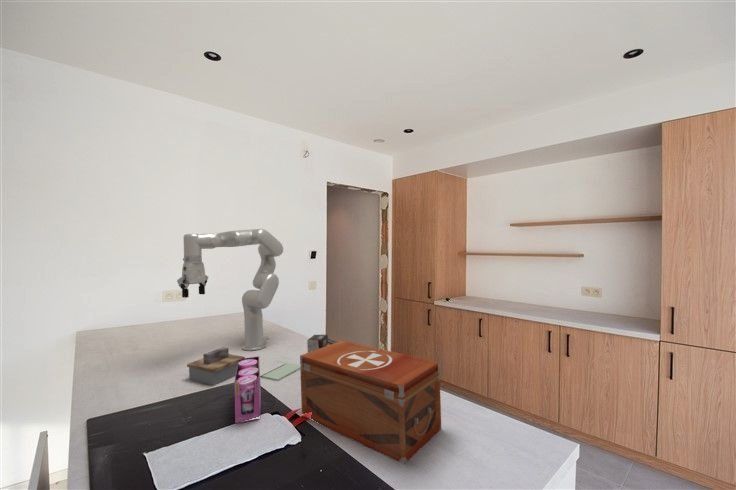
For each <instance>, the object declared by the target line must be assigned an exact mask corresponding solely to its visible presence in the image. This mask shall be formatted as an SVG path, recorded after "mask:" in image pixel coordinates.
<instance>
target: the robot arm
mask: <svg viewBox="0 0 736 490" xmlns="http://www.w3.org/2000/svg"><path fill="white" fill-rule="evenodd" d="M255 245H258V248H257V250H258V254H259V257H260V265H259V267H258V269H257V272H256V273H255V275H254V276H253V280H252V285H253V287H254V288H256V289H249V290H246V291H245V292H244V293H243V294H242V297H241V305H242V308H243V317H244V318H243V319H244V321H243V322H244V344H243V345H242V347H241V348H242V350H244V351H249V352H251V351H258V350H261V349H264V348H266V347H267V343H266V341H268V340H270V336H264V327H263V326H264V325H263V322H264V321H263V309H264V310H265V309H266V308H268V307H269V306H270V305H271V303H272V301H273V299H274V296H275V295H276V293H277V290H278V287H279V283H280V280H279V277H278V276H277V274H276V273H275V270H276V267H277V265H276V259H275V257H277V258H278V257H280V256H281V255H282V254H283V253H284V246H283V243H281V242H280V240H278V239H277V238H276V237H275V236H274V235H272V233H270V232H269V231H268V230H267V229H264V228H257V229H254V228H253V229H244V230H243V229H241V230H230V231H229V230H228V231H223V232H215V233H201V234H199V233H187V234H184V235H183V258H182V261H183V263H182V269H181V277H180V278H178V279H177V280H176V282H177V284H178V287H180V290H181V294H182V295H181V297H182V298H187V299H188V298H189V297H190V296H189V294H190V293H189V288H188V287H189V286H190V285H196V284H198V295H205V294H206V286H207V282H208V280H209V276H208V275H206V268H205V265H204V262H203V257H202V255H203V253H202V250H209V249H210V250H211V249H215V248H233V247H234V248H237V247H245V246H255Z"/></svg>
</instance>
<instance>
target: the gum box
mask: <svg viewBox="0 0 736 490" xmlns="http://www.w3.org/2000/svg"><path fill="white" fill-rule="evenodd" d="M260 365H261V364H260V356H253V357H252V356H251V357H245V358H243V359H239V360H238V366H237V371H236V376H235V377H234V384H233V386H234V419H235V420H234V424H240V423H239V422H241V423H243V422H242V421H245V420H249V419H252V418H256V417H259V416H260V417H261V405H262V404H261V402H262V401H261V399H262V398H261V396H262V395H261V394H262V393H261V377H260V376H261V368H260V367H261V366H260Z"/></svg>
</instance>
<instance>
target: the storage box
mask: <svg viewBox="0 0 736 490" xmlns="http://www.w3.org/2000/svg"><path fill="white" fill-rule="evenodd" d="M237 366H238V363H235V364H233V365H230V366H228V367H226V368H223V369H221V370H218V371H216V372H213V373H212V372H207V371H203V370H199V369H194V368H190V367H188V369H189V370H188V374H189V376H188V377H189V381H192V382H197V383H199V384H204V385H208V386H212V387H215V386H216V385H219V384H221V383H224V382H225V381H226V382H227V381H228V380H230V379H232V378H235V376H236V371H237Z"/></svg>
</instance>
